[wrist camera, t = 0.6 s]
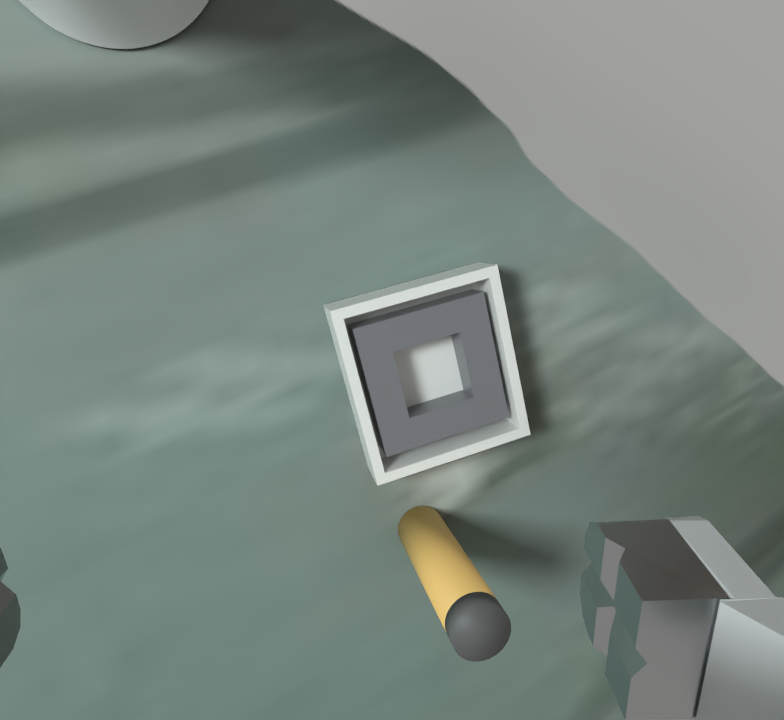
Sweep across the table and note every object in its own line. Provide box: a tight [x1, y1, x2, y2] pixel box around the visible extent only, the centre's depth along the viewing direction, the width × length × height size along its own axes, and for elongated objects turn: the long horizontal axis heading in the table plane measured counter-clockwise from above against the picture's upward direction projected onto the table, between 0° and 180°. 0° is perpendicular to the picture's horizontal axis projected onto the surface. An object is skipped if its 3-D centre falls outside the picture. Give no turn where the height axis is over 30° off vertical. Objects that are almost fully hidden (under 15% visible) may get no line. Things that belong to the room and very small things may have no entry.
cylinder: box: [398, 506, 511, 661], centre depth 45 cm, size 4×4×14 cm
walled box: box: [324, 263, 531, 486], centre depth 47 cm, size 14×13×4 cm
